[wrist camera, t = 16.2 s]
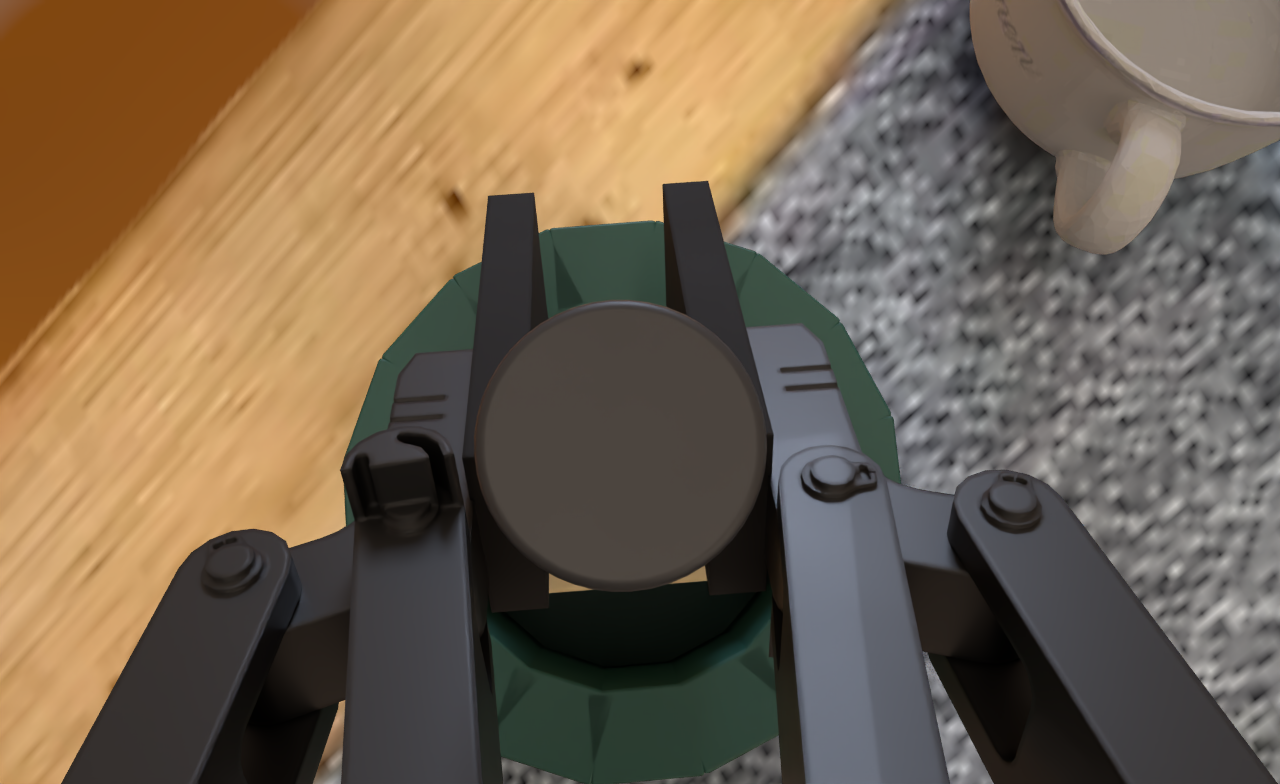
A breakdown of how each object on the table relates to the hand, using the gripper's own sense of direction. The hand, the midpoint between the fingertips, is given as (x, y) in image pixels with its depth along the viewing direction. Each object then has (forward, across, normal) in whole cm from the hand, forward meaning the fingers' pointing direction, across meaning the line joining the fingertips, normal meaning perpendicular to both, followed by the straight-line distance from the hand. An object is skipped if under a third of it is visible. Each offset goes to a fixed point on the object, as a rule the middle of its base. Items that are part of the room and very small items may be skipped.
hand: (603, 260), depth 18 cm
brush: (+2, 0, -7) cm, 7 cm away
